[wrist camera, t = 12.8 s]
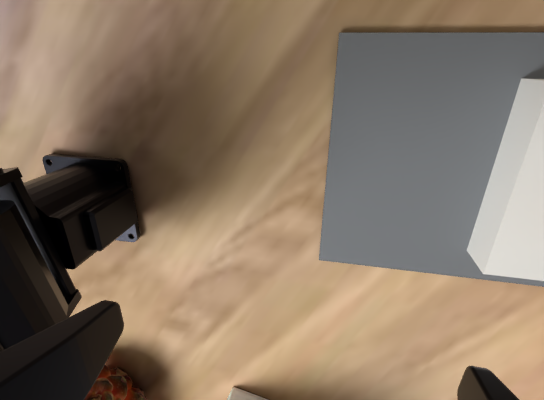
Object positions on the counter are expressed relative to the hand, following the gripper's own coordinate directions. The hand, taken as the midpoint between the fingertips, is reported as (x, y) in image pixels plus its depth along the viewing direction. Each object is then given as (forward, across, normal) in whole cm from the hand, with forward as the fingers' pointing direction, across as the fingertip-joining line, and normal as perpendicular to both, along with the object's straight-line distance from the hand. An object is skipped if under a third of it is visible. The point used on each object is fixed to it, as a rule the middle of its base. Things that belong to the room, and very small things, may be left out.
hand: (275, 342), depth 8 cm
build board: (+13, -11, -1) cm, 17 cm away
